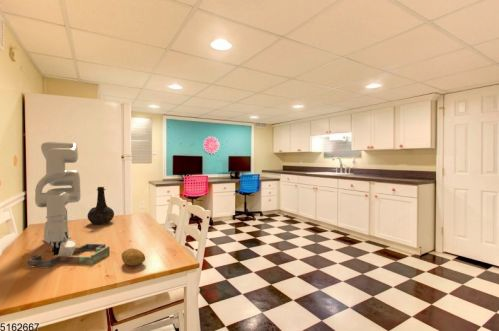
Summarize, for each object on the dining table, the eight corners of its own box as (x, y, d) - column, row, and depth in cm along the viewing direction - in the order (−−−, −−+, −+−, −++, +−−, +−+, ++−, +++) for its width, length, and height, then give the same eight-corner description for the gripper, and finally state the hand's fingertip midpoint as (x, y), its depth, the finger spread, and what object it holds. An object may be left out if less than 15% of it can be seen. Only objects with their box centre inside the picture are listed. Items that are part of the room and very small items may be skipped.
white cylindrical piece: (62, 249, 135) (66, 237, 133) (75, 253, 136) (79, 242, 134) (53, 256, 128) (57, 244, 127) (67, 261, 129) (71, 249, 128)
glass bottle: (98, 220, 209) (98, 185, 208) (119, 220, 207) (118, 185, 206) (81, 225, 191) (80, 188, 190) (103, 226, 189) (103, 188, 188)
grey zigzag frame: (19, 266, 121) (19, 258, 121) (61, 248, 145) (61, 241, 145) (84, 269, 118) (84, 260, 118) (116, 249, 143) (116, 242, 142)
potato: (126, 271, 116) (126, 256, 116) (118, 262, 126) (118, 248, 125) (147, 265, 122) (147, 251, 122) (138, 257, 132) (138, 244, 131)
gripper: (36, 219, 128) (37, 256, 129) (63, 220, 127) (64, 257, 127) (49, 216, 136) (50, 251, 136) (75, 217, 134) (76, 252, 135)
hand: (57, 254), depth 132 cm, fingers closed
